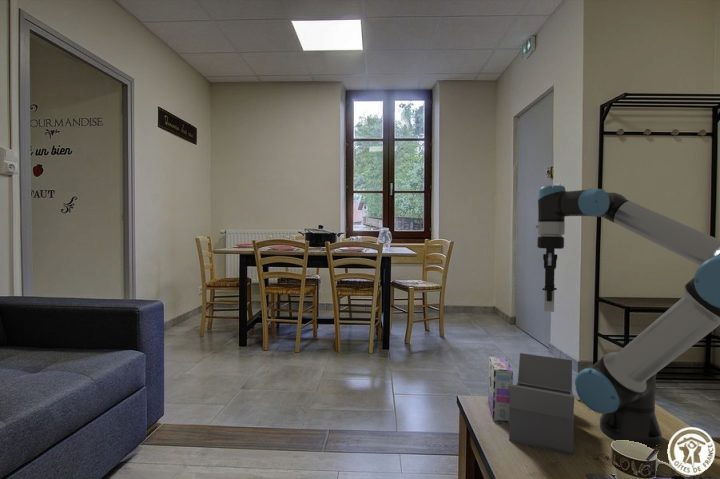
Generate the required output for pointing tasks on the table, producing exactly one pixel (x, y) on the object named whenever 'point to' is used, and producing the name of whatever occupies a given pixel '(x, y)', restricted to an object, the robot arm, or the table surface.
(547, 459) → the table surface
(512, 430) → the carton
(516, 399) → the near flap
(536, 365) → the far flap
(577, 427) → the table surface
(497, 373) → the candy box
